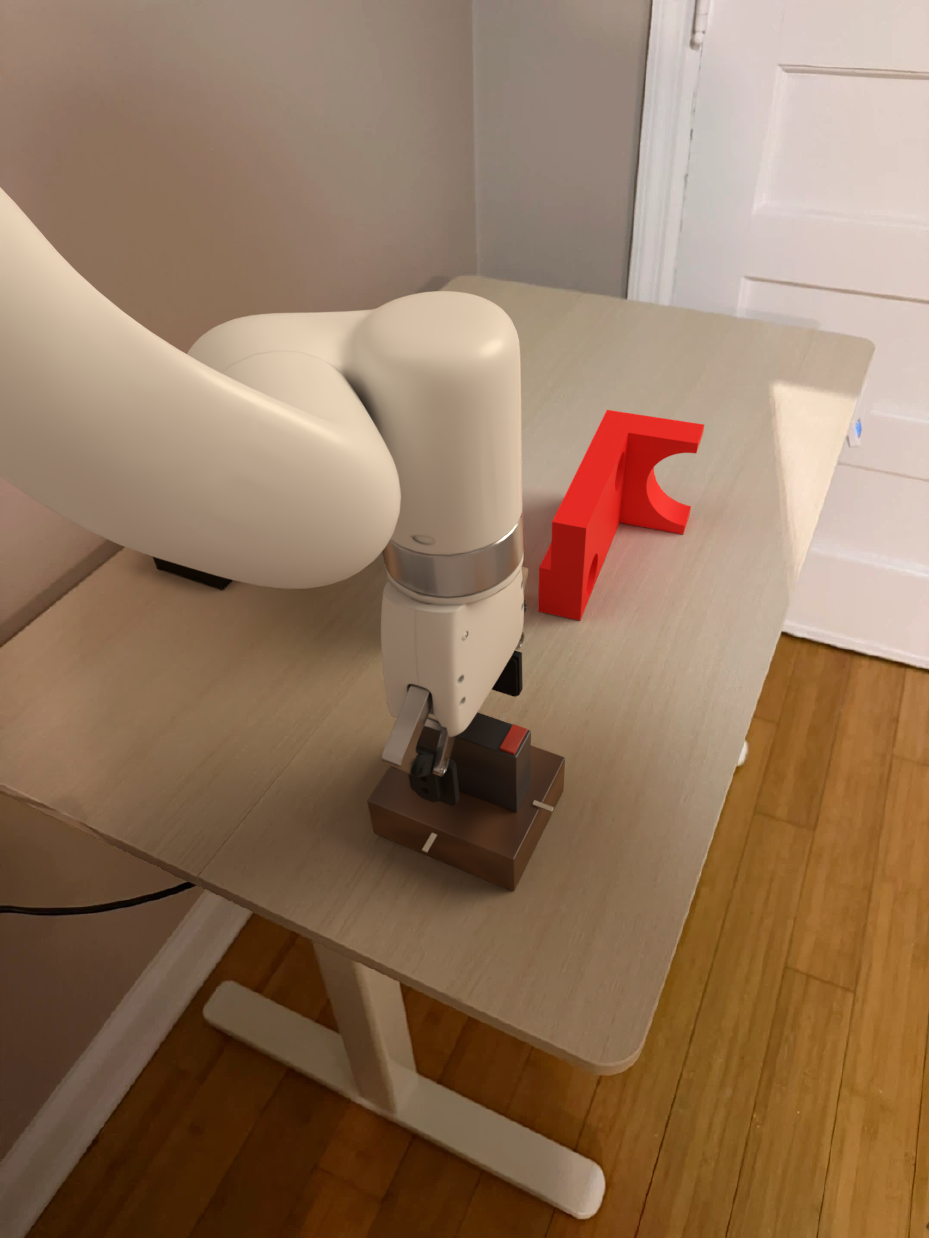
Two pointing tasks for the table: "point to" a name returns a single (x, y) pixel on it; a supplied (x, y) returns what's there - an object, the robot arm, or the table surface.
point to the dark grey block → (490, 759)
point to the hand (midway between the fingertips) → (469, 739)
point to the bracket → (611, 503)
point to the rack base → (471, 822)
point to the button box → (192, 574)
